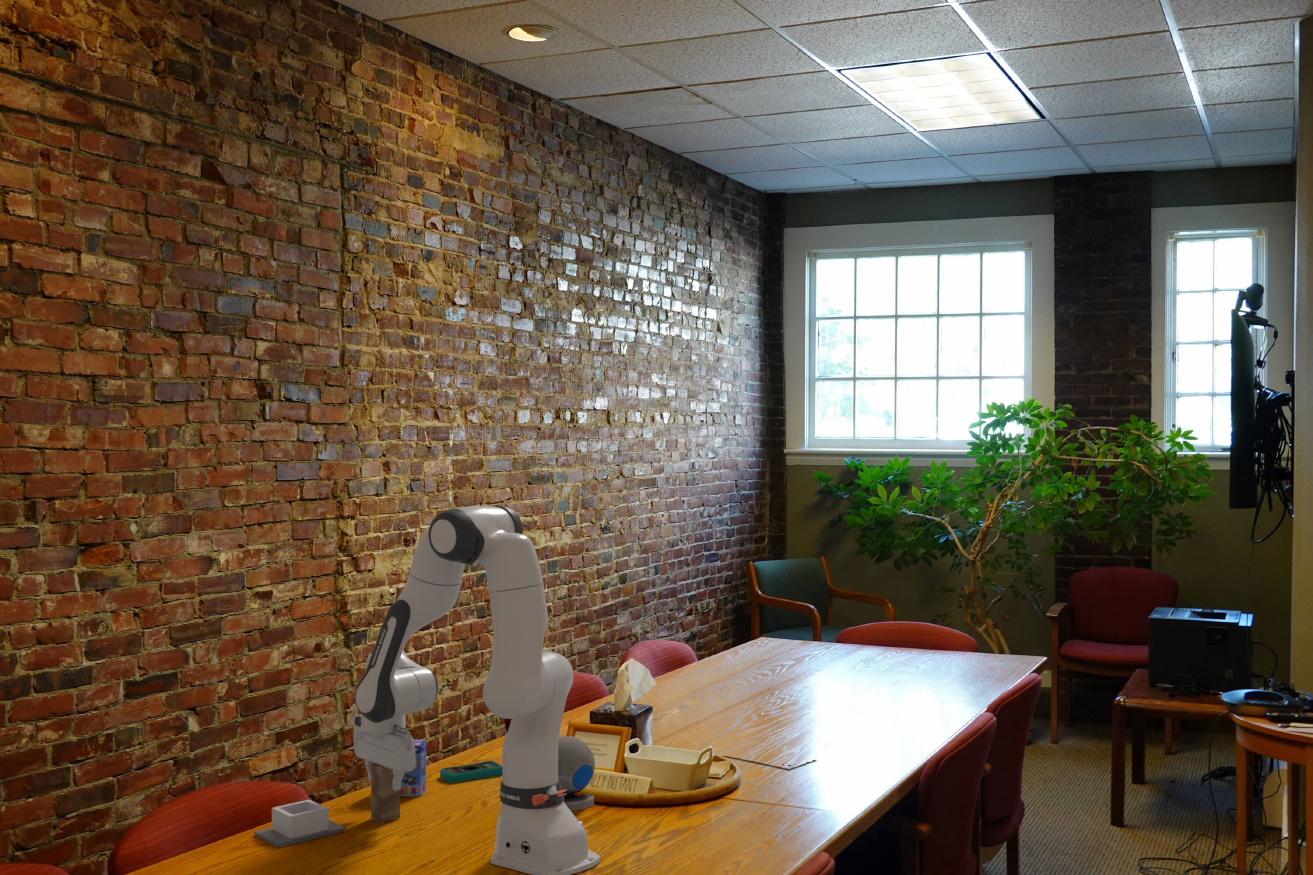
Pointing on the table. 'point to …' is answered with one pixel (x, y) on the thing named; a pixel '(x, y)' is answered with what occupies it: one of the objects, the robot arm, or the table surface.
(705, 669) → the table surface
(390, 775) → the peg
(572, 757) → the webcam
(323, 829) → the dock
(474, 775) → the digital multimeter
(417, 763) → the ink cartridge box
